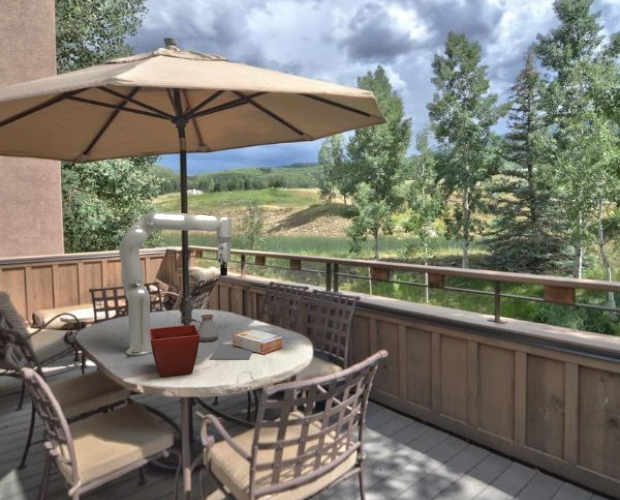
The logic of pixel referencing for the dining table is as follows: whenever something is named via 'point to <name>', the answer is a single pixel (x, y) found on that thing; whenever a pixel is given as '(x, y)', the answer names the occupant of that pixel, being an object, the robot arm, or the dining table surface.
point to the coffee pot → (206, 328)
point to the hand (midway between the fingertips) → (223, 275)
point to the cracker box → (257, 341)
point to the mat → (230, 353)
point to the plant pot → (175, 349)
